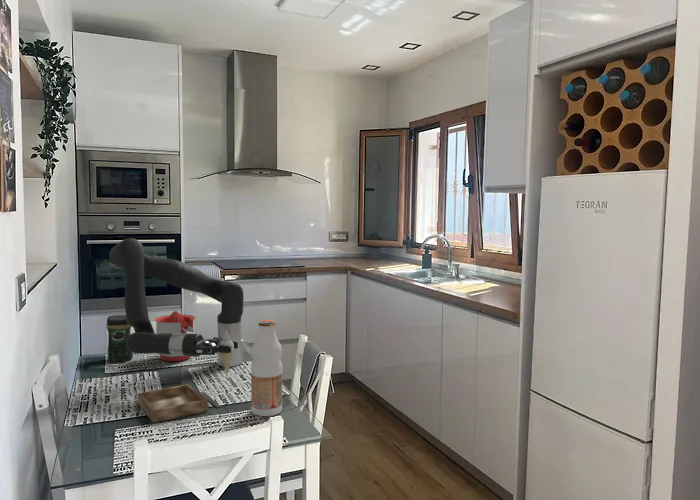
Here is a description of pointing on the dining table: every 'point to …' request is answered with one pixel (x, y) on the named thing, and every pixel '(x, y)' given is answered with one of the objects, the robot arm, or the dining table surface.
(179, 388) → the tray
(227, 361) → the ice cream cone
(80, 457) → the dining table surface
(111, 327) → the coffee jar
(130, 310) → the robot arm
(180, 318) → the citrus juicer
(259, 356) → the fruit juice
